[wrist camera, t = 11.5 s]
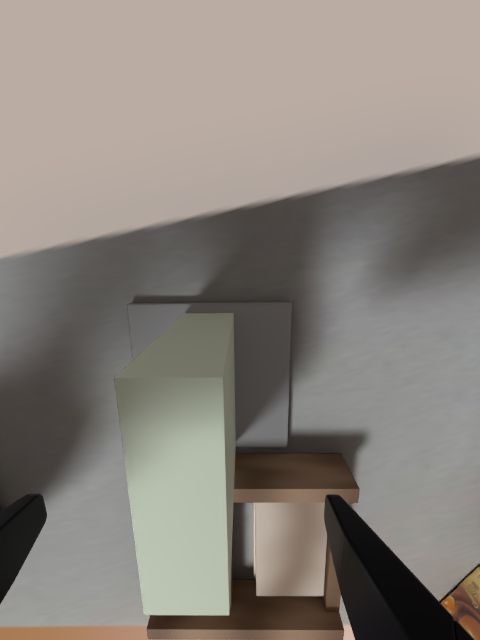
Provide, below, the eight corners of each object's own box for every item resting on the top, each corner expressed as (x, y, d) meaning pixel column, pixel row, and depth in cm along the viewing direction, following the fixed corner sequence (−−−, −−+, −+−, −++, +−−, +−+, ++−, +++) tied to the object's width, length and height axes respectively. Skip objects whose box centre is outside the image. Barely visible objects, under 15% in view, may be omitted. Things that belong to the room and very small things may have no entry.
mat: (145, 441, 19) (142, 447, 18) (130, 303, 16) (126, 304, 16) (285, 441, 19) (287, 447, 18) (290, 301, 16) (291, 303, 16)
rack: (160, 588, 22) (147, 639, 19) (146, 453, 19) (129, 489, 16) (329, 589, 22) (342, 640, 19) (341, 453, 19) (359, 489, 16)
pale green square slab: (192, 441, 18) (144, 615, 9) (184, 313, 16) (113, 377, 7) (235, 441, 18) (229, 615, 9) (233, 312, 16) (222, 377, 7)
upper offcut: (255, 577, 21) (256, 595, 20) (254, 482, 19) (255, 496, 18) (318, 577, 21) (323, 596, 20) (324, 481, 19) (329, 496, 18)
